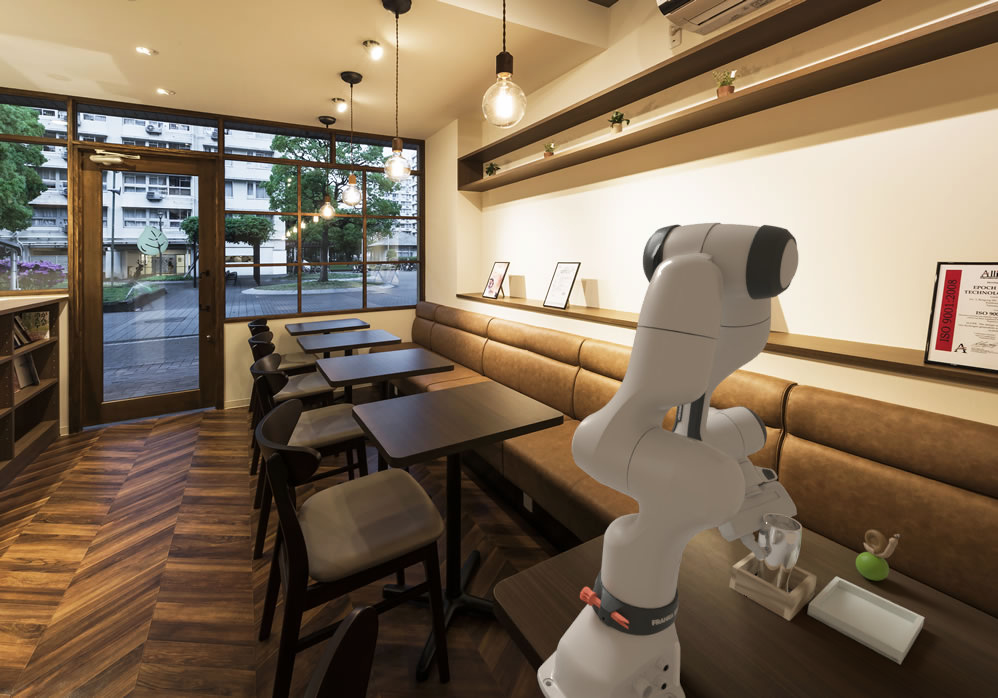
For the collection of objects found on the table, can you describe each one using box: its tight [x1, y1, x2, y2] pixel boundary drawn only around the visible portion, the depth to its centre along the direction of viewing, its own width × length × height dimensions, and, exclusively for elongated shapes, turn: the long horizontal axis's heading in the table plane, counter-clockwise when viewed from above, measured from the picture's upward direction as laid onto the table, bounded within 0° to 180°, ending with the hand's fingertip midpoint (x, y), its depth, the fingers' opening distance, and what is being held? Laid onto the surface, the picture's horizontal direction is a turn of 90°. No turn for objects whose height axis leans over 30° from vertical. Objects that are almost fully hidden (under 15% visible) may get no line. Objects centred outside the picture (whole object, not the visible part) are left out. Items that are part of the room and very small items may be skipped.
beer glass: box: [756, 513, 803, 593], centre depth 92 cm, size 7×7×15 cm
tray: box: [806, 576, 925, 665], centre depth 86 cm, size 14×14×2 cm
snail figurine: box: [855, 529, 901, 582], centre depth 97 cm, size 5×6×12 cm
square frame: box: [729, 551, 818, 622], centre depth 93 cm, size 11×11×4 cm
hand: (778, 551), depth 91 cm, fingers open, 8 cm apart
